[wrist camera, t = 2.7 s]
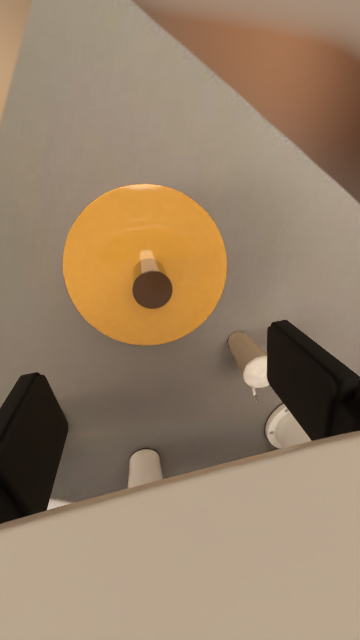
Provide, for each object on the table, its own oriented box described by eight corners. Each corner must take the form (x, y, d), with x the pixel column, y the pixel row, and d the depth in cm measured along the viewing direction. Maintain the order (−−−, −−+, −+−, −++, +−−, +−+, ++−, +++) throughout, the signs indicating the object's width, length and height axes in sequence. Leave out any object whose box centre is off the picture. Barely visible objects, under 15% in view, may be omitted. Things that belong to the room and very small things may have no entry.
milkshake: (215, 353, 39) (240, 399, 30) (231, 323, 37) (262, 361, 28) (241, 360, 40) (271, 405, 31) (257, 331, 38) (294, 370, 29)
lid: (190, 153, 21) (209, 137, 16) (240, 304, 27) (265, 327, 22) (29, 230, 21) (-4, 239, 16) (117, 360, 28) (113, 396, 22)
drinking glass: (124, 471, 46) (120, 581, 33) (126, 444, 44) (123, 552, 30) (161, 469, 48) (171, 574, 34) (165, 443, 45) (179, 546, 32)
